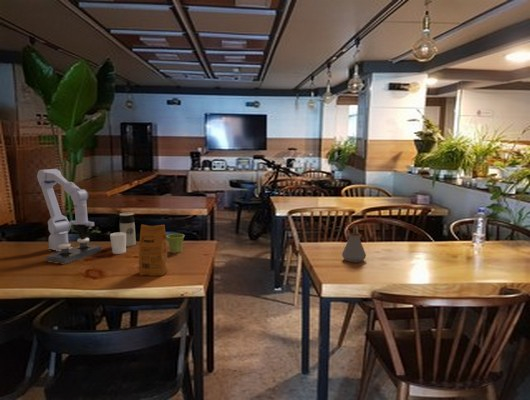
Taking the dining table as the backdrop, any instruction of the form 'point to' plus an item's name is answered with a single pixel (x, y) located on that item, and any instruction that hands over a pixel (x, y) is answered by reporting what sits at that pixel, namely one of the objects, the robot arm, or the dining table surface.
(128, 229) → the travel mug
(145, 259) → the coffee package
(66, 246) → the knob
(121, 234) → the white cup
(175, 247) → the plant pot
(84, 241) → the knob
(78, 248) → the knob mount
